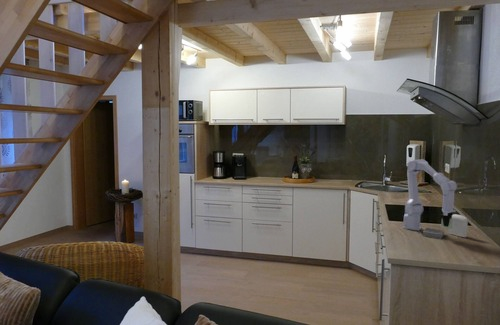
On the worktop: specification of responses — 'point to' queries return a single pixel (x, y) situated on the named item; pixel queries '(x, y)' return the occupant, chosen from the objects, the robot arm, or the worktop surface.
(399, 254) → the worktop surface
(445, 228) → the green cube
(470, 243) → the worktop surface
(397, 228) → the worktop surface
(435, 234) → the grey block
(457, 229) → the photo printer
